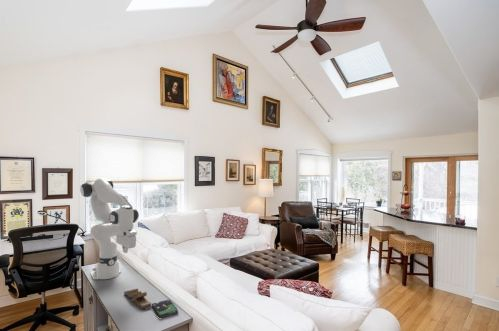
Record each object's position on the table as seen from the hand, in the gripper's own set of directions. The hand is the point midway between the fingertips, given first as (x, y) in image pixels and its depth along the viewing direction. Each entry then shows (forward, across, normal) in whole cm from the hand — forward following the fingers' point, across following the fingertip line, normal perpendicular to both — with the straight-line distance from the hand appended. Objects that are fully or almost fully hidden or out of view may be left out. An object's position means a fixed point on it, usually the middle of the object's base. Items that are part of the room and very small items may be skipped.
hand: (125, 252), depth 172 cm
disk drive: (+25, +42, +4) cm, 49 cm away
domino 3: (+23, +18, -1) cm, 30 cm away
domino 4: (+23, +23, -1) cm, 32 cm away
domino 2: (+23, +12, 0) cm, 26 cm away
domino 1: (+23, +6, 0) cm, 24 cm away
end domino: (+24, +23, -1) cm, 34 cm away
